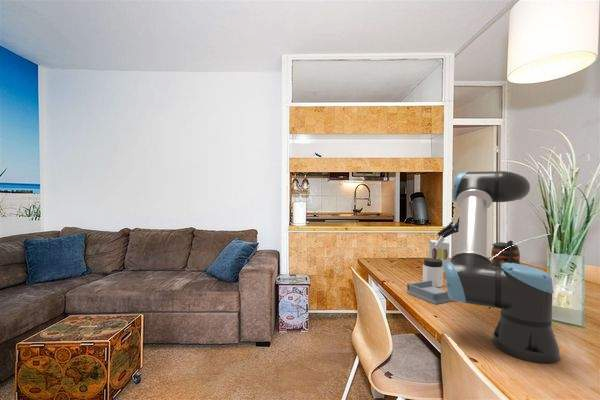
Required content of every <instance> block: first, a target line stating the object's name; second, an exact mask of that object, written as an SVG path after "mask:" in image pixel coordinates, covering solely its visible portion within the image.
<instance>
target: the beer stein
mask: <svg viewBox="0 0 600 400" xmlns="http://www.w3.org/2000/svg"><path fill="white" fill-rule="evenodd" d="M491 245H492V249H491V254H490V255H491V258H492V257H493V256H495V255H496V254H498V253H499V252H500V251H502V250H503V249H505V248H507V247H509V246H511V247H509V248H507V249H505V250H504V251H502V252H501V253H500V254H499V255H498V256H496V257H494V258H493V259H490V260H491V262H492V267H497V268H501V265H502V264H503V263H515V264H521V262H520V261H521V260H520V259H521V255H520V250H519V246H518V245H517V244H514V241H513V240H508V241H507V242H504V241H503V242H502V241H500V242H494V243H492V244H491ZM512 245H514V246H512Z"/></svg>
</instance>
